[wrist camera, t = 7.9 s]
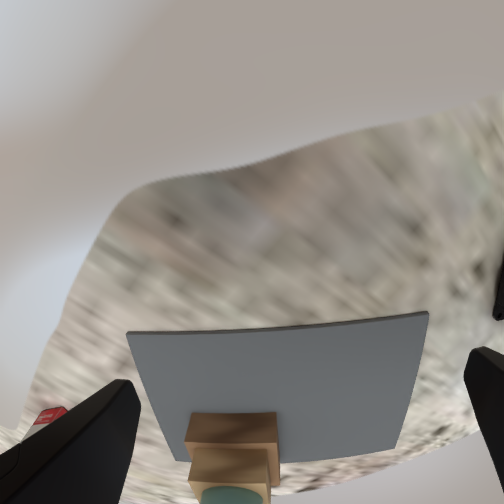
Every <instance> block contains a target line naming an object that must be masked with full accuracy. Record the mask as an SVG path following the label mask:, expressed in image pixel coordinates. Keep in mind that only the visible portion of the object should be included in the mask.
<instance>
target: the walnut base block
mask: <svg viewBox="0 0 504 504" xmlns="http://www.w3.org/2000/svg"><path fill="white" fill-rule="evenodd" d="M184 443H185V446H186V448H187V450H188V453H189V455H190V458H191V460H193V455H194V451H195V448H210V449H267V454H268V462H269V471H270V479H271V486H278V485H280V453H279V439H278V426H277V413H276V412H266V413H191V417H190V421H189V425H188V428H187V432H186V436H185V439H184Z"/></svg>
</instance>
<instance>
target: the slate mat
mask: <svg viewBox="0 0 504 504" xmlns="http://www.w3.org/2000/svg"><path fill="white" fill-rule="evenodd" d="M428 320H429V313H428V312H427V311H426V312H420V313H413V314H406V315H399V316H391V317H384V318H376V319H367V320H358V321H349V322H340V323H330V324H319V325H307V326H295V327H281V328H266V329H248V330H226V331H194V332H127V333H126V337H127V340H128V343H129V346H130V349H131V352H132V355H133V358H134V361H135V364H136V367H137V370H138V372H139V375H140V378H141V380H142V383H143V386H144V388H145V391H146V394H147V396H148V399H149V401H150V404H151V406H152V409H153V411H154V413H155V416H156V418H157V421H158V423H159V425H160V428H161V430H162V432H163V434H164V437H165V439H166V441H167V443H168V445H169V448H170V450H171V452H172V454H173V456H174V458H175V460H176V461H183V462H192V460H191V458H190V455H189V453H188V450H187V448H186V446H185V443H184V439H185V436H186V432H187V428H188V425H189V421H190V417H191V413H266V412H276V413H277V426H278V439H279V453H280V463H294V462H307V461H318V460H327V459H336V458H343V457H350V456H357V455H363V454H369V453H374V452H380V451H385V450H390V449H394V448H395V446H396V443H397V440H398V438H399V435H400V432H401V429H402V425H403V422H404V419H405V416H406V413H407V409H408V406H409V402H410V399H411V395H412V392H413V388H414V384H415V380H416V376H417V372H418V368H419V364H420V360H421V355H422V351H423V346H424V341H425V336H426V331H427V326H428Z"/></svg>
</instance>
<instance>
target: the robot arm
mask: <svg viewBox="0 0 504 504" xmlns="http://www.w3.org/2000/svg"><path fill="white" fill-rule="evenodd" d="M493 318H494V319H495V320H496V321H499V320H503V319H504V263H503V269H502V274H501V280H500V285H499V290H498V295H497V299H496V304H495V308H494V312H493ZM464 382H465V385H466V388H467V391H468V394H469V397H470V400H471V403H472V406H473V409H474V413H475V416H476V419H477V422H478V425H479V427H480V430H481V432H482V435H483V437H484V440H485V442H486V445H487V447H488V450H489V452H490V455H491V458H492V460H493V463H494V465H495V469H496V471H497V474H498V477H499V480H500V483H501V486H502V489H503V492H504V355H503V354H501V353H498V352H496V351H494V350H492V349H490V348H487V347H485V346H482V347H478V348H475V349H473V350H472V351H471V352H470V354H469V357H468V361H467V364H466V367H465V370H464ZM140 412H141V403H140V400H139V398H138V395H137V393H136V390H135V388H134V386H133V383H132V382H131V381H130V380H125V379H116V380H114V381H112V382H111V383H109V384H108V385H106V386H105V387H103V388H102V389H100V390H99V391H98V392H96V393H95V394H93V395H92V396H90V397H89V398H87V399H86V400H84V401H83V402H81V403H80V404H78V405H77V406H75V407H74V408H72V409H71V410H69V411H68V412H66V413H65V414H63V415H62V416H60V417H59V418H57V419H56V420H54V421H52V422H51V423H49V424H48V425H46V426H45V427H43V428H42V429H40V430H39V431H37V432H36V433H34V434H33V435H31V436H29V437H28V438H26V439H25V440H23V441H22V442H21V443H18V444H17V445H15V446H14V447H12V448H11V449H9V450H7V451H6V452H4V453H2V454H1V455H0V504H118V503H119V500H120V496H121V493H122V489H123V486H124V482H125V479H126V475H127V472H128V469H129V465H130V462H131V458H132V454H133V449H134V444H135V438H136V433H137V427H138V422H139V417H140Z"/></svg>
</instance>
